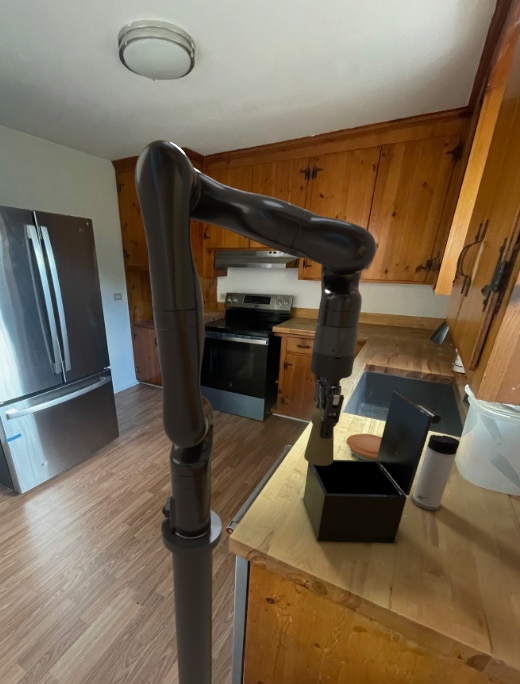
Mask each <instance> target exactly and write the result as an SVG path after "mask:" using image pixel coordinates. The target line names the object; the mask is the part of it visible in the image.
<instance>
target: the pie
mask: <svg viewBox="0 0 520 684" xmlns="http://www.w3.org/2000/svg"><path fill="white" fill-rule="evenodd" d="M381 439H382V436H379V435H375V434H370V433H355V434H352V435H350V436H348V437H347V438H346V445H347V446H348V448H349V450H350V452H351V454H352V455H353V456H354V457H355V458H357V459H358V460H371V461H378V460H377V455H378V451H379V447H380V443H381ZM378 462H379V461H378Z"/></svg>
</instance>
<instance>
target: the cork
mask: <svg viewBox="0 0 520 684" xmlns="http://www.w3.org/2000/svg"><path fill="white" fill-rule="evenodd" d="M316 408H317V409H316ZM316 408H315V409H314V410H313V411H312V412H311V415H310V422H311V424H312V426H311V429H310V433H309V435H308V436H309V437H308V440H307V443H306V446H305V450H304V453H303V458H304V459H305V461H306V462H307V463H308V462H310V463H311V464H314V465H319V466H327V465H330V464H332V463H333V461H334V460H335V458H334V457H335V456H334V454H335V453H334V451H335V450H334V447H335V445H334V444H335V443H334V440H335V439H334V437H335V436H334V433H335V431H334V430H335V427H336V426H337V424H338V423H334V424H333V430H332V437H331V438H330V439H323V438H320V435H319V433H320V426H321V417H322V409H321V408H318V407H316ZM329 415H332V413H329Z"/></svg>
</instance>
